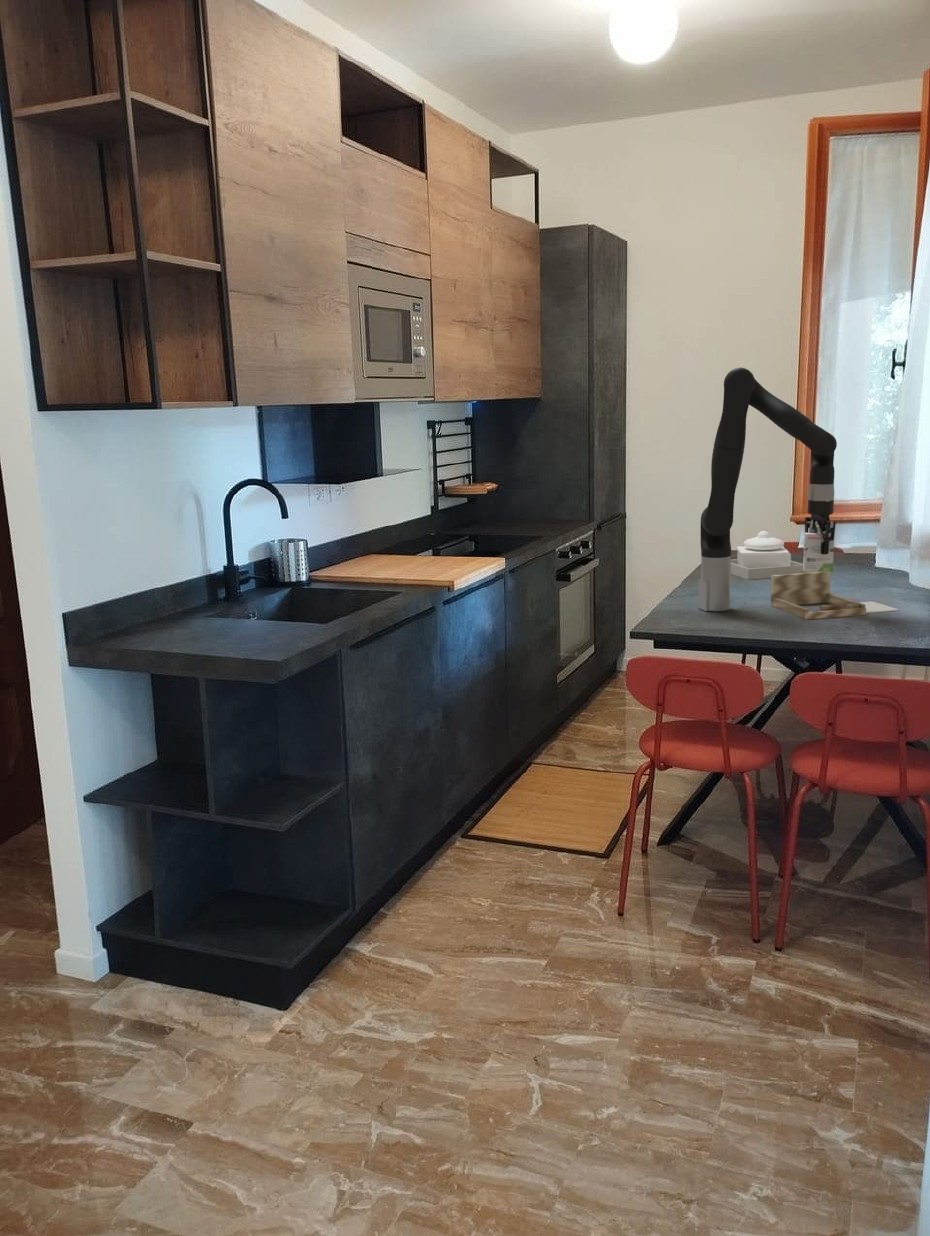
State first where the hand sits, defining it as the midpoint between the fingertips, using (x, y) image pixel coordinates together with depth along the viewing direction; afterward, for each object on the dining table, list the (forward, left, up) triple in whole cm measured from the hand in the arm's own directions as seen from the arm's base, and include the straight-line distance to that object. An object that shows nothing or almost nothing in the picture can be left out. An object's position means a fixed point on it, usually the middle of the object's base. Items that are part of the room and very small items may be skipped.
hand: (818, 552), depth 311 cm
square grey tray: (+17, +68, -18) cm, 73 cm away
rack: (0, 0, -18) cm, 18 cm away
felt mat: (+16, -3, -18) cm, 25 cm away
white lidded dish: (+17, +68, -18) cm, 73 cm away
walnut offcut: (0, -9, -17) cm, 19 cm away
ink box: (0, 0, -6) cm, 6 cm away
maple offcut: (+7, -9, -18) cm, 21 cm away
